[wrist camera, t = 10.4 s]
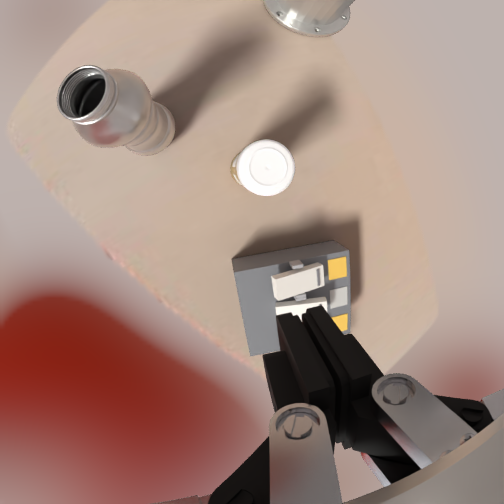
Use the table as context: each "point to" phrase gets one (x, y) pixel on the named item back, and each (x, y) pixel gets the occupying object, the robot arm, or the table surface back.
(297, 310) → the switch
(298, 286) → the switch
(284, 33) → the table surface
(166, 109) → the plastic bottle
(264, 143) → the sprinkles bottle
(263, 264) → the console
